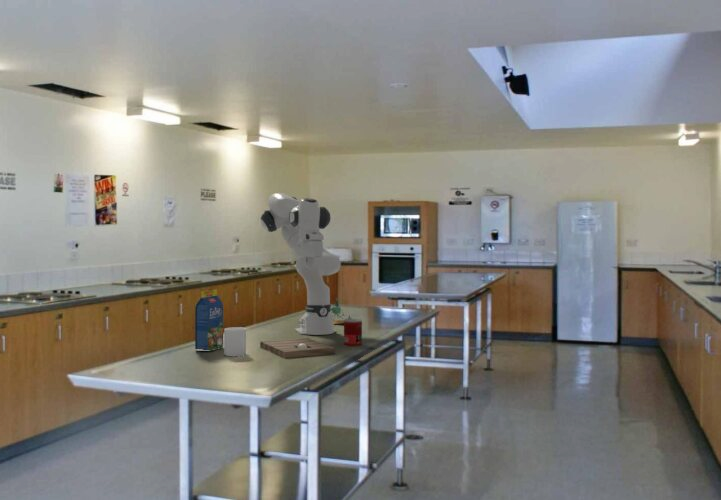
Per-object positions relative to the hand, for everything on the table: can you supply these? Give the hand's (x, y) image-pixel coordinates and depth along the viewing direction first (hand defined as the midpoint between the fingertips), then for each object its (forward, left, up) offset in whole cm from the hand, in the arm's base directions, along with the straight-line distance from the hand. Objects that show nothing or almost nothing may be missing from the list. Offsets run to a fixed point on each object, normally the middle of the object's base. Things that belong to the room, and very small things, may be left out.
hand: (309, 267), depth 305 cm
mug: (+8, -35, -34) cm, 50 cm away
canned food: (+7, +18, -34) cm, 39 cm away
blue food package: (-8, -42, -34) cm, 55 cm away
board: (+10, -10, -34) cm, 37 cm away
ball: (+17, -10, -32) cm, 38 cm away
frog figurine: (-57, +42, -34) cm, 78 cm away
